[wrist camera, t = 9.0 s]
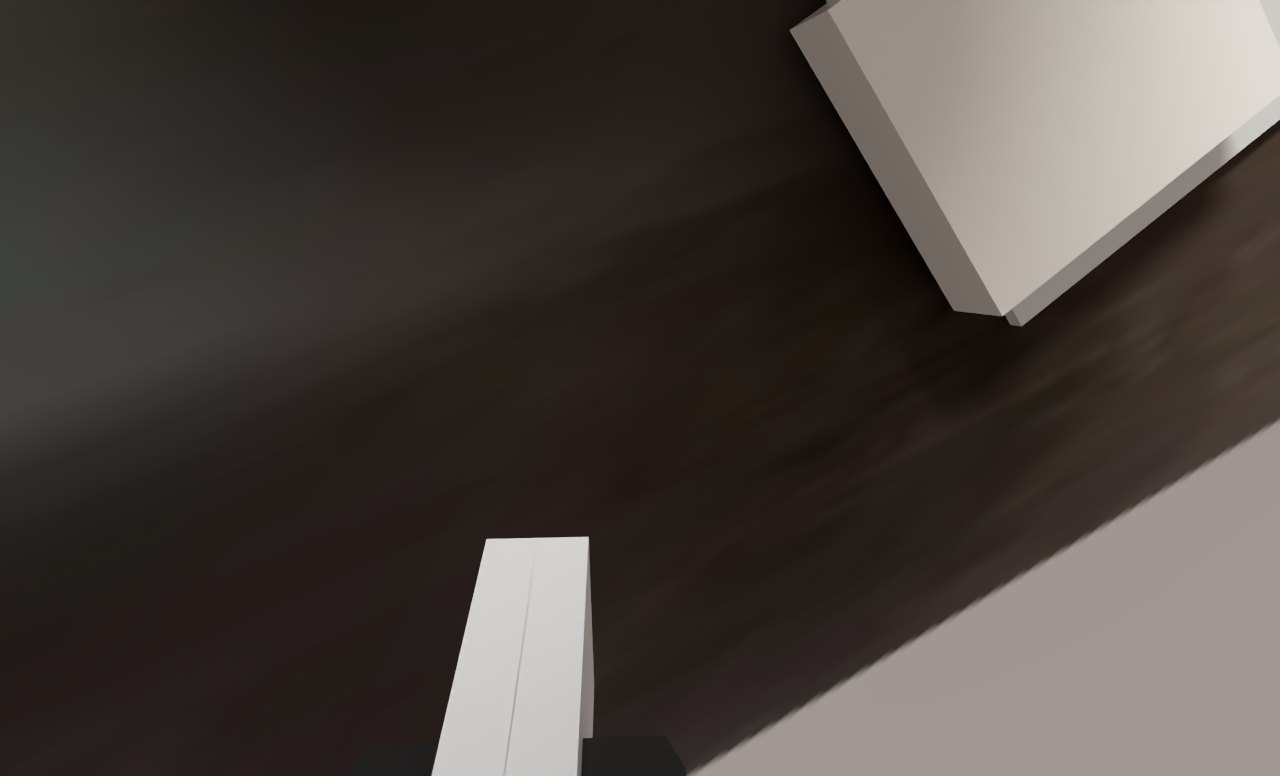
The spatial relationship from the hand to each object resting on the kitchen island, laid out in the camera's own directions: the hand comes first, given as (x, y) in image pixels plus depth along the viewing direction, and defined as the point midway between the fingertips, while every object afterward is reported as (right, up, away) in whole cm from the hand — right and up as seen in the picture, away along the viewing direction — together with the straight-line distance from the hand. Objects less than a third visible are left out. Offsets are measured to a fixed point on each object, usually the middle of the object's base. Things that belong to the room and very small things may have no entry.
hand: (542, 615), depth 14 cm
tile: (+9, +10, +13) cm, 19 cm away
